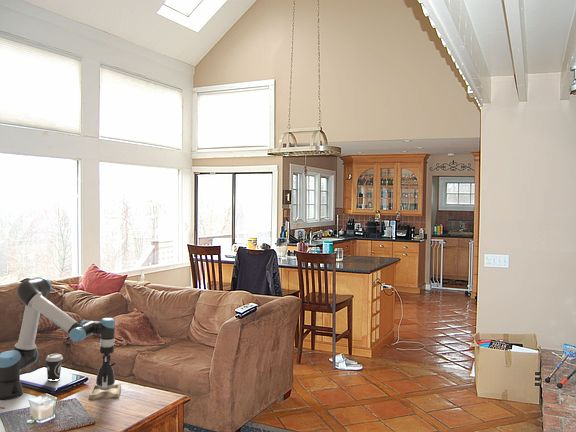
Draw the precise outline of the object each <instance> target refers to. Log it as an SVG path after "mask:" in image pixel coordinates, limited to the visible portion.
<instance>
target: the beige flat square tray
mask: <svg viewBox="0 0 576 432" xmlns="http://www.w3.org/2000/svg"><path fill="white" fill-rule="evenodd" d="M121 389H122V384H121V383H114V385H113V387H112V388H111V389H109V390H101V389H99V388H98V387H97V384H92V385H91V387H90V391H89V394H88V400H91V401H92V400H110V399H120V395H121V394H120V393H121Z"/></svg>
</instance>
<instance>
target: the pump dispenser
mask: <svg viewBox="0 0 576 432" xmlns="http://www.w3.org/2000/svg"><path fill="white" fill-rule="evenodd" d="M115 365H116V362H113V363H111V362H110V363H109V364H108V373H107V375H108V381H107V387H106V388H102V377H103V376H102V377H101V375H102V374H103V363H102V364H101V365H100V367H99V369H98V370H97V374H96V380H95V385H97V387H98V388H99V389H101V390H109V389H111V388H112V387H113V385H114V384H116V378H115V377H116V376H115V371H114V368H113V367H114V366H115Z"/></svg>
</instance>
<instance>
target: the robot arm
mask: <svg viewBox="0 0 576 432" xmlns="http://www.w3.org/2000/svg"><path fill="white" fill-rule="evenodd" d="M52 290H53V286H52V282H51V281H50V280H49V279H48V278H47V277H44V276H36V277H33V278H30V279H25V280H23V281H22V282H20V283H19V285H18V286H17V288H16V296H17V297H18V299H19V301H21V302H22V303H23V304H24V305H25V307H24V312H23V315H22V322H21V327H20V331H19V335H18V341H17V342H16V343H15V344H14V347H13V349H11V350H7V351H3V352H1V353H0V401H6V400H12V399H16V398H19V397H21V396H22V395H23V394H24V388H23V385H22V383H21V379H20V378H21V371H23V370H25V369H27V368H29V367H31V366H33V365H34V364H35V363H36V362H37V360H38V358H39V351H38V349H37V344H36V343H35V342H36V337H37V333H38V327H39V322H40V318H41V315H43V316H44V317H45V318H47V319H48V320H49V321H51V322H52V323H53V324H55V325H56V326H58V327H59V328H60V329H61V330H63V331H65V332H66V333H67V334H68V336H69V339H70V340H71V341H72V342H74V343H78V342H80V341H84V339H86V338H87V337H90V336H92V335H97V336H100V340H99V353H100V354H103V355H102V364H103V374H102V375H101V377H102V376H103V377H102V388H106V387H107V381H108V375H107V373H108V364H109V363H110V364H111V362H110V361H111V358H112V357H111V354H113V353H114V351H115V346H114V345H115V341H116V339H115V330H116V320H115V318H113V317H103V318H102V319H100V321H99V320H89V319H87V320H82V321H80V323H79V322H78V321H77V320H75V319H74V318H73V317H71V315H69V314H67V313H66V312H65V311H63V309H60V308H59V307H58V306H56V305H55V304H54V303H53V302H51V301H50V300H48V299H47V298H48V297H47V296H48V295H50V294H51V292H52Z"/></svg>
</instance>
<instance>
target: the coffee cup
mask: <svg viewBox="0 0 576 432" xmlns="http://www.w3.org/2000/svg"><path fill="white" fill-rule="evenodd" d="M63 360H64V357H63V355H62V354H60V353H51V354H48V355H47V356H46V358H45V361H46V374H47V380H48V379H52V380H55V379H59V378H61V373H62V372H61V370H62V364H63V362H62V361H63ZM59 380H60V379H59Z"/></svg>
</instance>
